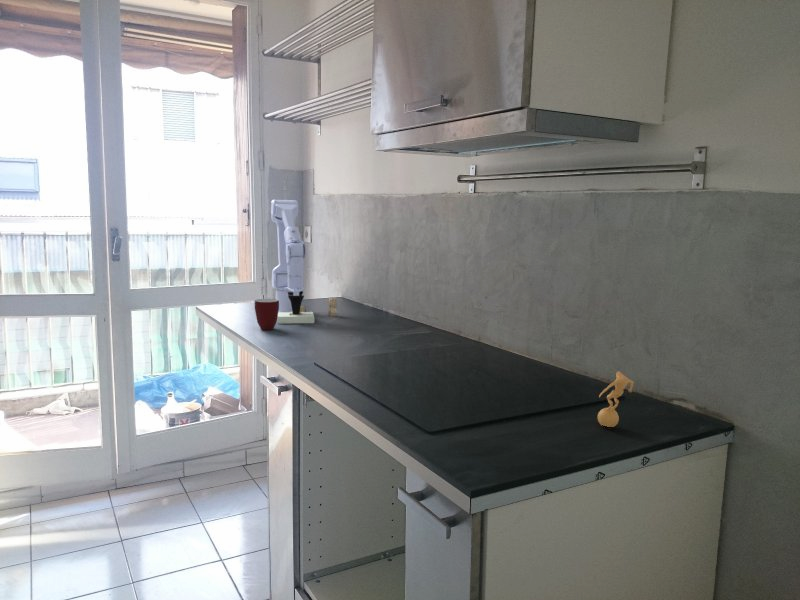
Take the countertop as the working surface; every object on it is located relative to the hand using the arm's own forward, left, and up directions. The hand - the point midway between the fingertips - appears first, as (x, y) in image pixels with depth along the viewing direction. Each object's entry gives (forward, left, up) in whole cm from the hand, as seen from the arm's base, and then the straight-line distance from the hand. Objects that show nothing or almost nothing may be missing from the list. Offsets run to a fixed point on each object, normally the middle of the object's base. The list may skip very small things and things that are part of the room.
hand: (295, 312), depth 223 cm
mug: (+13, -10, -3) cm, 17 cm away
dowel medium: (0, 0, -3) cm, 3 cm away
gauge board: (0, 0, -3) cm, 3 cm away
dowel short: (-9, +2, -3) cm, 10 cm away
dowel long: (-9, +14, -3) cm, 18 cm away
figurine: (+119, +58, -3) cm, 132 cm away
